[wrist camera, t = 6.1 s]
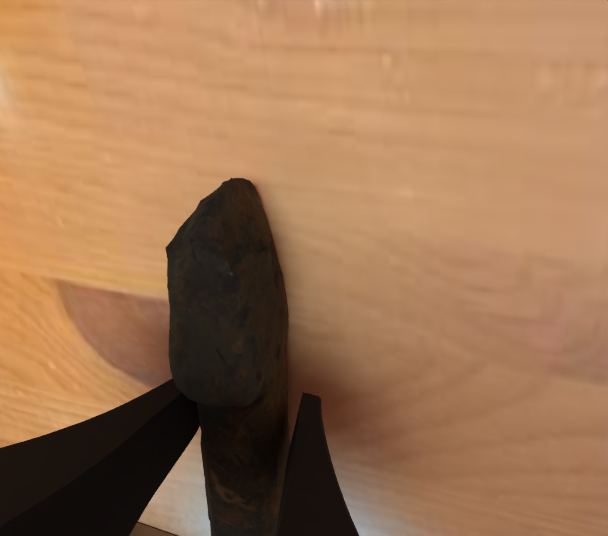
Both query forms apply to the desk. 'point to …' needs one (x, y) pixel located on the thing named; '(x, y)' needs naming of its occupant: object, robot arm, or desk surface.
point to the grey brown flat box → (147, 531)
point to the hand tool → (232, 355)
